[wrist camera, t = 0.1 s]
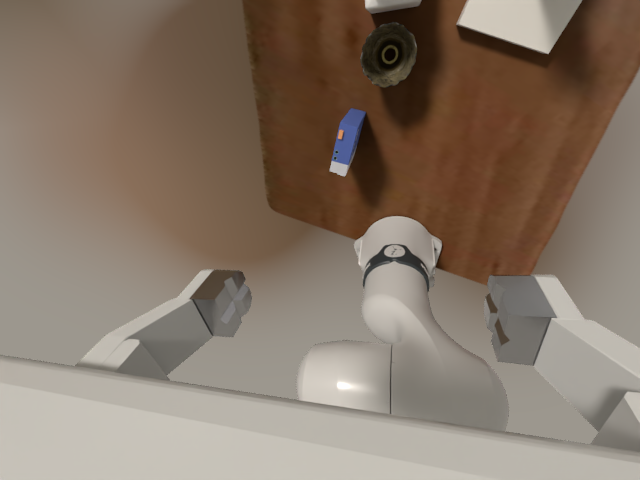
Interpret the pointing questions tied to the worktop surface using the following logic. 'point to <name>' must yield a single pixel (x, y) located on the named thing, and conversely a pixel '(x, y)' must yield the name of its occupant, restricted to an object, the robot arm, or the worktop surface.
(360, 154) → the worktop surface
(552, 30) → the stand
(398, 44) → the cup
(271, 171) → the worktop surface
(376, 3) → the medicine bottle
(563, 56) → the worktop surface
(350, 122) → the walkman
